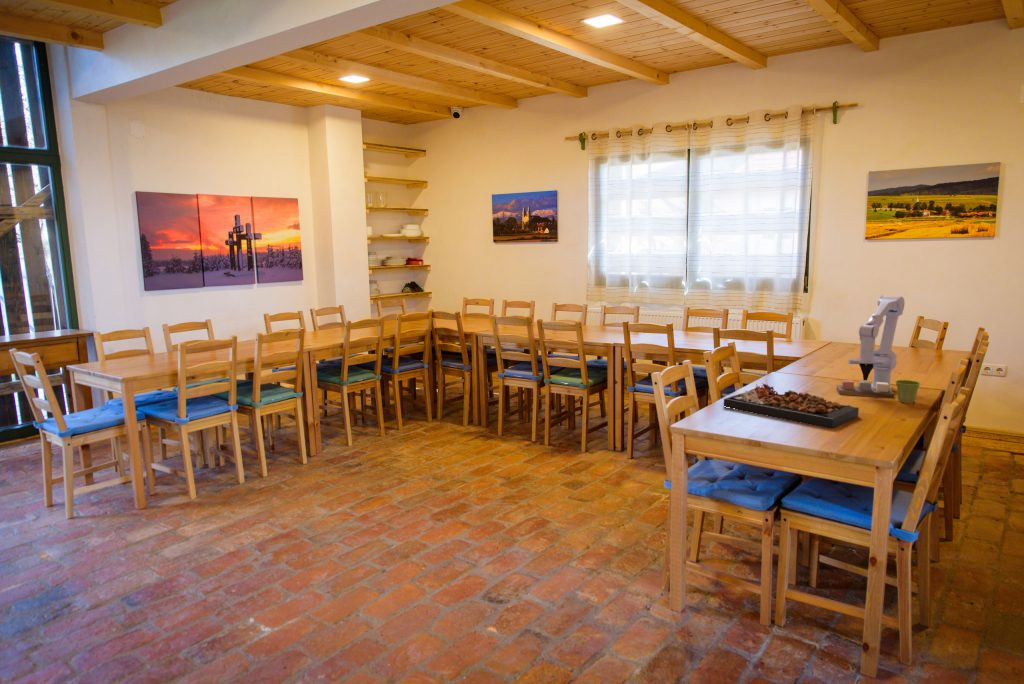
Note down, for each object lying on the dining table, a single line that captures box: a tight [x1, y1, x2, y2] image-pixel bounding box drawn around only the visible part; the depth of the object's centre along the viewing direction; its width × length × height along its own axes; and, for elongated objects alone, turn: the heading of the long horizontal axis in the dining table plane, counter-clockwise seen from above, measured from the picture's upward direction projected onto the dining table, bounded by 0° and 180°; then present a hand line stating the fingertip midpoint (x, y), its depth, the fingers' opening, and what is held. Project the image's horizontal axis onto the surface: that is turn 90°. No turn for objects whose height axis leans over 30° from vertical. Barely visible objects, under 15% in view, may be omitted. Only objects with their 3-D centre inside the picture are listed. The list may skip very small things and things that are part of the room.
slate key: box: [858, 380, 872, 391], centre depth 293 cm, size 5×5×4 cm
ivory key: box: [875, 382, 889, 392], centre depth 291 cm, size 5×5×4 cm
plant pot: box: [895, 379, 921, 404], centre depth 277 cm, size 9×9×9 cm
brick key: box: [841, 379, 855, 390], centre depth 296 cm, size 5×5×4 cm
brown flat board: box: [836, 384, 895, 399], centre depth 294 cm, size 11×22×2 cm, turn 68°
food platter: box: [723, 380, 860, 430], centre depth 263 cm, size 45×25×10 cm, turn 42°
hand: (865, 379), depth 293 cm, fingers closed
